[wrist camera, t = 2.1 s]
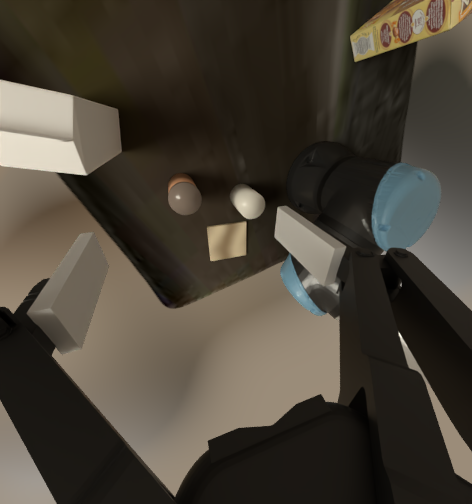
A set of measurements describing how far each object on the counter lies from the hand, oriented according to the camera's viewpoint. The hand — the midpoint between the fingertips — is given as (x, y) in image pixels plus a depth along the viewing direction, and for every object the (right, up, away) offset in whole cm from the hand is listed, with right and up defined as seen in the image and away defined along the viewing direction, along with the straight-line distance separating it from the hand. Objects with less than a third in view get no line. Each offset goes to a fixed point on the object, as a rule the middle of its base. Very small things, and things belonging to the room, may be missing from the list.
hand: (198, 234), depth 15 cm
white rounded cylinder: (+4, +11, +28) cm, 31 cm away
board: (+1, +1, +33) cm, 33 cm away
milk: (-18, +18, +16) cm, 30 cm away
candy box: (+26, +37, +20) cm, 50 cm away
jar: (-8, +11, +24) cm, 28 cm away
